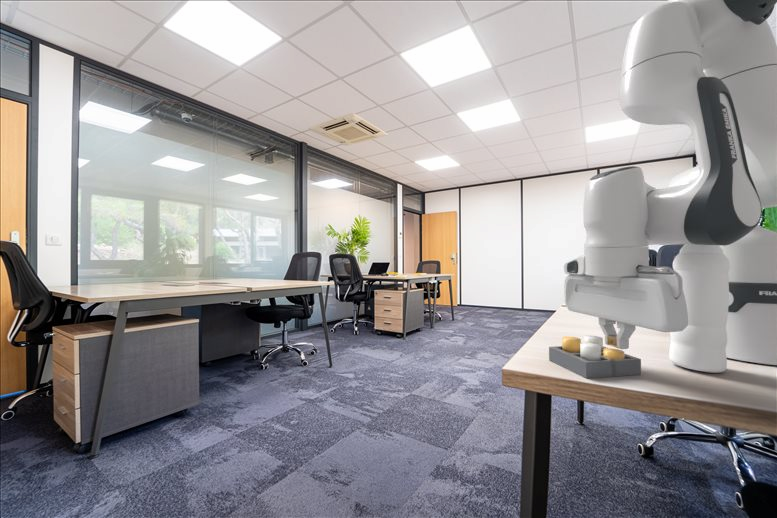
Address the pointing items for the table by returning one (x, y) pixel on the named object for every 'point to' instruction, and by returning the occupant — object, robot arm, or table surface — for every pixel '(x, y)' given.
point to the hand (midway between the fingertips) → (616, 346)
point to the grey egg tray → (595, 364)
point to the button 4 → (613, 353)
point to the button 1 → (571, 344)
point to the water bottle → (702, 309)
